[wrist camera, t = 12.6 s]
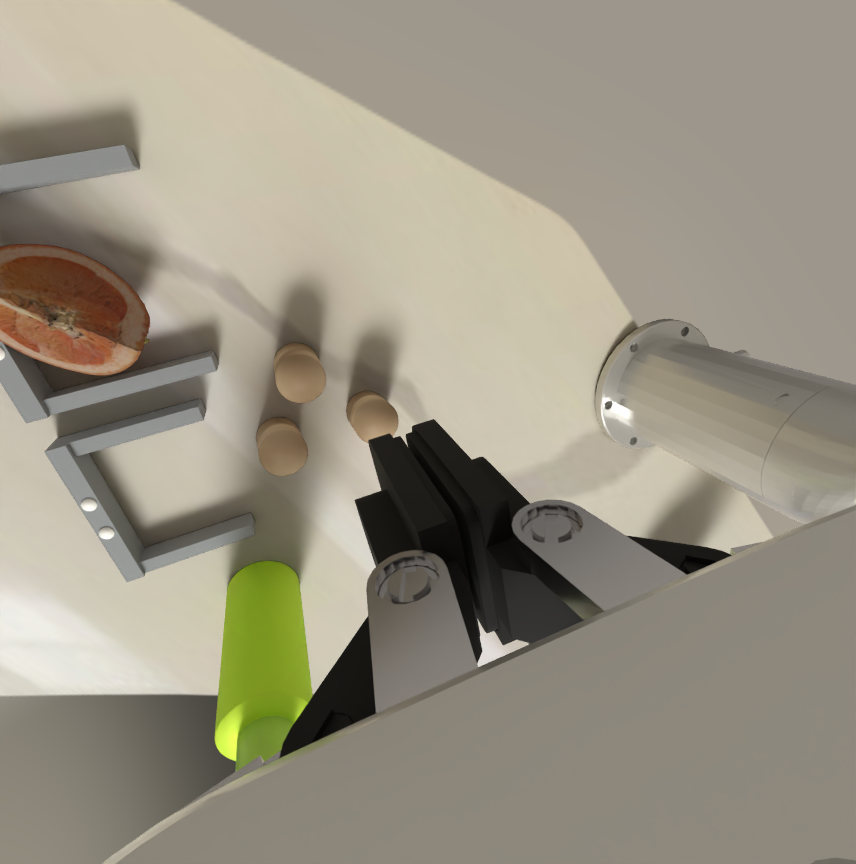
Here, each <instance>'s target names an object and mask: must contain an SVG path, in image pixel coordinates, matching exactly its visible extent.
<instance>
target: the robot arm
mask: <svg viewBox="0 0 856 864" xmlns="http://www.w3.org/2000/svg"><path fill="white" fill-rule="evenodd" d="M595 408H596V414H597V419H598V421H599V424H600V426H601V428H602V429H603V431H604V432H605V433H606V435H607V436H608V437H610V438H611V439H612V440H613V441H615V442H617V443H619V444H621V445H622V446H625V447H628V448H633V449H643V448H649V447H653V446H655V445H656V446H658V447H660V448H662V449H664V450H665V451H667V452H669V453H671V454H673V455H675V456H676V457H678V458H680V459H682V460H684V461H686V462H688V463H689V464H691V465H693V466H695V467H697V468H699V469H700V470H702V471H704V472H706V473H708V474H710V475H711V476H713V477H715V478H717V479H719V480H721V481H723V482H724V483H726V484H728V485H730V486H732V487H734V488H735V489H737V490H739V491H741V492H743V493H745V494H746V495H748V496H750V497H752V498H754V499H756V500H758V501H759V502H761V503H763V504H765V505H767V506H769V507H770V508H772V509H774V510H776V511H778V512H780V513H782V514H784V515H786V516H787V517H790V518H792V519H794V520H796V521H798V522H801V523H804V524H805V525H803V526H800V527H798V528H796V529H793V530H791V531H789V532H786V533H784V534H781V535H779V536H777V537H774V538H772V539H769V540H767V541H764V542H760V543H755V544H751V545H746V546H741V547H736V548H731V551H730V554H728V553H726V552H723V551H720V550H716V549H712V548H708V547H701V546H694V545H687V544H680V543H673V542H666V541H659V540H652V539H646V538H639V537H632V536H625V535H624V534H622V533H621V532H619V531H618V530H616V529H614V528H613V527H611V526H610V525H608V524H607V523H605V522H603V521H602V520H600V519H599V518H597V517H596V516H594V515H592V514H591V513H589V512H588V511H586V510H585V509H583V508H581V507H580V506H577V505H575V504H573V503H571V502H566V501H562V500H543V501H537V502H534V503H531V504H530V503H529V502H528V501H527V500H526V499H525V498H524V497H523V496H522V495H521V494H520V493H519V492H518V491H517V490H516V489H515V488H514V487H513V486H512V485H511V484H510V483H509V482H508V481H507V480H506V479H505V478H504V477H503V476H502V475H501V474H500V473H499V472H498V471H497V470H496V469H495V468H494V467H493V466H492V465H491V464H490V463H489V462H488V461H487V460H486V459H485V458H484V457H479V458H476V459H473V460H471V458H470V457H469V456H468V455H467V454H466V453H465V452H464V451H463V450H462V449H461V448H460V447H459V445H458V444H457V443H456V442H455V441H454V440H453V439H452V438H451V437H450V436H449V435H448V434H447V433H446V431H445V430H444V429H443V428H442V427H441V426H440V425H439V424H438V423H437V422H436V421H435V420H434V419H433V420H430V421H426V422H423V423H420V424H417V425H414V426H412V432H411V433H408V434H406V440H407V444H408V447H407V445H406V444H405V442H404V441H403V439H402V438H401V437H400V436H399V437H395V438H393V437H392V435H391V434H390V433H389V434H386V435H382V436H379V437H376V438H373V439H370V440H368V443H369V447H370V451H371V454H372V458H373V462H374V465H375V469H376V472H377V476H378V480H379V483H380V487H381V490H382V491H380V492H377V493H374V494H371V495H368V496H365V497H362V498H359V499H356V500H355V503H356V506H357V510H358V513H359V516H360V519H361V522H362V526H363V529H364V532H365V535H366V538H367V541H368V544H369V547H370V550H371V553H372V556H373V559H374V562H375V565H376V568H375V569H374V570H373V571H372V573H371V575H370V577H369V579H368V581H367V589H366V591H367V604H368V617H367V618H366V620H365V621H364V623H363V624H362V626H361V627H360V628H359V630H358V631H357V633H356V634H355V636H354V637H353V639H352V640H351V642H350V643H349V644H348V646H347V647H346V649H345V650H344V652H343V653H342V655H341V656H340V657H339V659H338V660H337V662H336V663H335V665H334V666H333V668H332V669H331V671H330V672H329V673H328V675H327V676H326V678H325V679H324V681H323V682H322V684H321V685H320V686H319V688H318V689H317V691H316V692H315V694H314V695H313V697H312V698H311V700H310V701H309V702H308V704H307V705H306V707H305V708H304V710H303V711H302V713H301V714H300V715H299V717H298V718H297V720H296V721H295V723H294V724H293V726H292V727H291V729H290V731H289V733H288V735H287V736H286V738H285V740H284V742H283V745H282V749H281V751H279V752H278V753H276V754H275V755H273V756H272V757H270V758H269V759H268V760H266V761H265V762H264V761H263V759H262V757H261V756H258V757H257V758H255V759H254V760H253V761H251V762H250V763H248V764H247V765H245V766H244V767H242V768H241V769H239V770H238V771H236V772H235V773H233V774H232V775H231V776H229V777H228V778H226V779H225V780H223V781H222V782H220V783H219V784H217V785H216V786H214V787H213V788H211V789H210V790H208V791H207V792H206V793H204V794H203V795H201V796H200V797H198V798H197V799H195V800H194V801H193V802H191V803H189V804H188V805H186V806H185V807H183V808H182V809H181V810H179V811H178V812H176V813H175V814H173V815H171V816H170V817H168V818H166V819H165V820H163V821H161V822H159V823H158V824H157V825H155V826H154V827H152V828H151V829H149V830H148V831H147V832H145V833H144V834H143V835H141V836H140V837H138V838H137V839H135V840H134V841H132V842H131V843H129V844H128V845H127V846H125V847H124V848H122V849H121V850H120V851H118V852H117V853H115V854H114V855H112V856H111V857H110V858H108V859H107V860H106V861H105V862H104V863H102V864H856V385H854V384H850V383H846V382H842V381H839V380H834V379H831V378H827V377H823V376H819V375H816V374H812V373H808V372H804V371H800V370H796V369H793V368H789V367H785V366H780V365H777V364H773V363H770V362H765V361H762V360H758V359H754V358H750V354H749V353H748V352H747V351H745V350H740V351H738V352H735V353H731V352H727V351H723V350H720V349H716V348H711V347H709V345H708V343H707V341H706V339H705V337H704V335H703V334H702V333H701V332H700V331H699V329H697V328H696V327H694V326H693V325H691V324H689V323H686V322H683V321H678V320H672V319H662V320H657V321H653V322H650V323H647V324H645V325H643V326H641V327H639V328H637V329H636V330H635V331H633V332H632V333H631V334H629V335H628V336H627V337H626V338H625V339H624V340H623V341H622V342H621V343H620V344H619V345H618V346H617V347H616V348H615V350H614V351H613V353H612V354H611V355H610V357H609V358H608V360H607V362H606V364H605V366H604V368H603V370H602V372H601V375H600V378H599V381H598V384H597V390H596V395H595ZM477 618H478V620H479V622H480V623H481V625H482V627H483V629H484V630H485V632H486V633H489V632H492V631H495V633H496V634H497V636H498V638H499V639H500V641H501V643H502V644H503V645H505V644H507V643H510V642H512V641H514V640H516V639H517V640H520V641H524V642H528V645H527V646H525V647H523V648H521V649H518V650H516V651H514V652H512V653H509V654H507V655H505V656H503V657H500V658H498V659H496V660H494V661H492V662H489V663H487V664H485V665H483V666H480V667H478V666H477V663H478V660H479V658H480V656H481V653H482V647H481V642H480V631H479V626H478V621H477Z"/></svg>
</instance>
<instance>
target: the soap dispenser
mask: <svg viewBox="0 0 856 864" xmlns="http://www.w3.org/2000/svg"><path fill="white" fill-rule="evenodd" d="M312 697H313V696H312V687H311V679H310V670H309V662H308V653H307V644H306V636H305V627H304V619H303V610H302V602H301V593H300V585H299V579H298V576H297V575H296V573H295V572H294V571H293V570H292V569H291V568H290V567H289V566H287V565H285V564H283V563H280V562H275V561H261V562H256V563H253V564H250V565H248V566H246V567H244V568H243V569H241V570H240V571H238V572H237V573H236V574H235V575H234V577H233V578H232V579H231V581H230V583H229V585H228V589H227V598H226V610H225V622H224V634H223V645H222V657H221V669H220V681H219V692H218V704H217V716H216V728H215V743H216V746H217V748H218V750H219V751H220V752H221V753H222V754H223V755H224V756H225V757H227V758H229V759H231V760H234V761H236V771H238V770H239V769H241V768H242V767H244V766H245V765H247V764H248V763H250V762H251V761H253V760H254V759H255V758H257V757H258V756H261V757H262V759H263V761H264V762H265V761H266V760H268V759H269V758H270V757H272V756H273V755H275V754H276V753H278V752H279V751H281V749H282V745H283V742H284V740H285V738H286V736H287V735H288V733H289V731H290V729H291V727H292V726H293V724H294V723H295V721H296V720H297V718H298V717H299V715H300V714H301V713H302V711H303V710H304V708H305V707H306V705H307V704H308V702H309V701H310V700H311V698H312Z"/></svg>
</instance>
